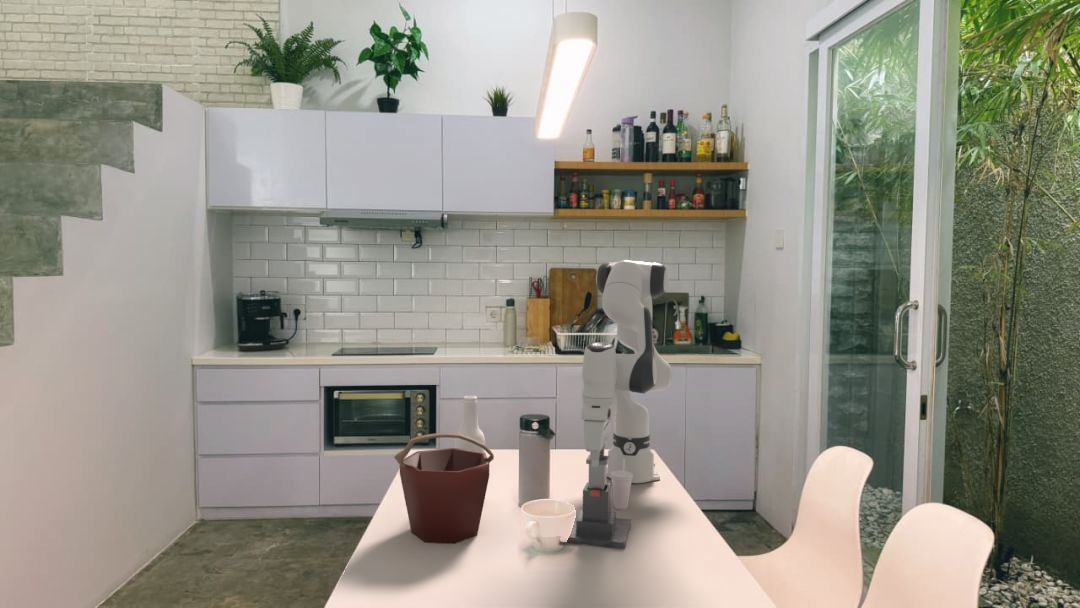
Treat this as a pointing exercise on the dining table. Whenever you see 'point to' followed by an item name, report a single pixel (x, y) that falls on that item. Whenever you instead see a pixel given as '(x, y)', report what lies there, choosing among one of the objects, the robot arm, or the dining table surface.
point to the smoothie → (621, 487)
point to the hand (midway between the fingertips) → (598, 461)
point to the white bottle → (470, 426)
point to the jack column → (597, 473)
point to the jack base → (599, 522)
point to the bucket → (444, 489)
